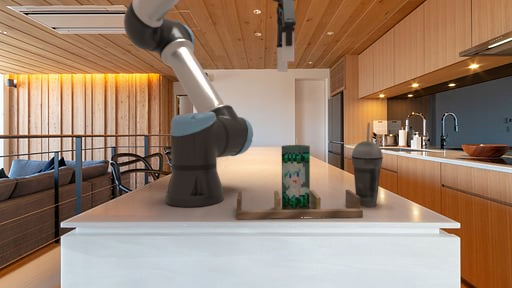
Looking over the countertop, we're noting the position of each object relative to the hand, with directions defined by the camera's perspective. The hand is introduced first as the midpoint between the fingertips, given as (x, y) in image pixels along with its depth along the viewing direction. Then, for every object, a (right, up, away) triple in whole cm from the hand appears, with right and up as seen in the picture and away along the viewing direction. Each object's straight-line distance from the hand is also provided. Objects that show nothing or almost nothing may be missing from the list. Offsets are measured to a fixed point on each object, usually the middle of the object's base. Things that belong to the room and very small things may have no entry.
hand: (285, 66), depth 78 cm
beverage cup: (+20, -35, -4) cm, 40 cm away
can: (+2, -36, -9) cm, 37 cm away
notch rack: (+2, -35, -9) cm, 36 cm away
